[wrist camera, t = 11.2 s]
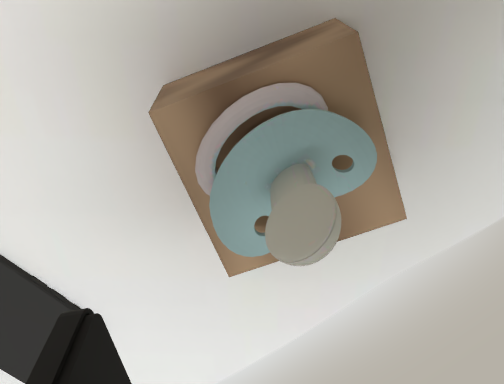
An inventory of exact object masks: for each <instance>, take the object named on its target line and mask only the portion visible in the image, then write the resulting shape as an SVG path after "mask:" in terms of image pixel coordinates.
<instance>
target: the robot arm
mask: <svg viewBox="0 0 504 384" xmlns="http://www.w3.org/2000/svg"><path fill="white" fill-rule="evenodd" d="M26 384H131V382H130V379H129V377H128V375H127V373H126V370H125V368H124V366H123V364H122V361H121V359H120V357H119V355H118V352H117V350H116V348H115V346H114V343H113V341H112V339H111V336H110V334H109V332H108V330H107V327H106V325H105V323H104V321H103V318H102V317H101V315H100V314H98V313H96V314H94V313H93V311H92V310H91V309H89V308H85V309H79V310H73V311H67V312H63V313H61V314H60V316H59V317H58V319H57V321H56V323H55V325H54V327H53V329H52V331H51V333H50V335H49V337H48V339H47V341H46V343H45V345H44V347H43V349H42V351H41V353H40V355H39V358H38V360H37V362H36V364H35V366H34V368H33V370H32V372H31V374H30V376H29V378H28V380H27V382H26Z"/></svg>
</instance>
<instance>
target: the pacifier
mask: <svg viewBox="0 0 504 384" xmlns="http://www.w3.org/2000/svg"><path fill="white" fill-rule="evenodd" d="M277 106H293V107H297V108H301V109H302V110H294V111H290V112H287V113H284V114H280V115H277V116H275V117H273V118H271V119H269V120H267V121H265V122H263V123H262V124H260V125H258V126H257V127H255V128H254V129H253V130H251V131H250V132H249V133H248V134H246V135H245V136H244V137H243V138H242V139H241V140H240V141H239V142H238V143H237V144H236V145H235V146H234V147H233V148H232V150H231V151H230V152H229V154H228V155H227V156H226V158H225V159H224V161H223V162H222V164H221V166H220V168H219V170H218V172H217V169H216V159H217V157H218V154H219V152H220V149H221V147H222V146H223V144H224V143H225V141H226V140H227V138H228V137H229V136H230V135H231V134H232V133H233V132H234V130H235V129H236V128H237V127H238V126H239V125H241V124H242V123H243V122H245V121H246V120H248V119H249V118H250V117H252V116H254V115H256V114H258V113H260V112H262V111H264V110H267V109H270V108H274V107H277ZM338 155H347V156H349V157H351V158H352V160H353V163H352V165H351V167H349V168H348V169H345V170H339V169H336V168H334V167H333V166H332V160H333V159H334V158H335V157H336V156H338ZM376 163H377V152H376V148H375V145H374V143H373V142H372V140H371V138H370V137H369V135H368V134H367V133H366V132H365V131H364V130H363V129H362V128H361V127H360V126H358V125H357V124H356V123H354V122H353V121H351V120H349V119H347V118H346V117H343V116H341V115H338V114H336V113H334V112H330V111H328V107H327V105H326V103H325V101H324V99H323V98H322V96H321V95H320V94H319V93H318V92H316V91H315V90H314V89H313V88H311V87H309V86H306V85H302V84H299V83H277V84H273V85H270V86H266V87H262V88H259V89H257V90H255V91H253V92H251V93H249V94H247V95H245V96H243V97H242V98H240V99H239V100H238V101H236V102H235V103H233V104H232V105H231V106H229V107H228V108H227V109H226V110H225V111H224V112H223V113H222V114H221V115H220V116H219V117H218V118H217V119H216V120H215V121H214V122H213V123H212V125H211V126H210V128H209V129H208V131H207V133H206V134H205V136H204V137H203V139H202V141H201V144H200V146H199V149H198V152H197V155H196V164H195V173H196V177H197V181H198V184H199V185H200V186H201V188H202V189H203V191H204V192H205V193H206V194H208V195H209V196H210V203H209V208H210V215H211V219H212V222H213V227H214V229H215V231H216V233H217V236H218V237H219V239H220V240H221V242H222V243H223V244H224V245H225V246H226V247H227V248H228V249H229V250H231V251H233V252H234V253H236V254H239V255H242V256H246V257H255V256H262V255H265V254H267V253H271V254H272V255H273V256H274V257H275V258H276V259H278V260H279V261H281V262H284V263H286V264H289V265H293V266H305V265H310V264H313V263H315V262H318V261H319V260H321V259H323V258H324V257H325V256H326V255H327V254H328V253H329V252H330V251H331V250H332V249H333V247H334V246H335V244H336V242H337V240H338V238H339V234H340V230H341V213H340V209H339V206H338V204H337V201H336V199H335V198H334V197H337V196H341V195H344V194H346V193H348V192H351V191H353V190H354V189H356V188H357V187H359V186H361V185H362V184H363V183H364V182H365V181H366V180H367V179H368V178H369V177H370V176H371V174H372V173H373V171H374V169H375V166H376ZM261 216H269V218H268V220H267V224H266V229H265V232H264V233H260V232H258V231H256V229H255V227H254V224H255V222H256V220H257V219H258V218H259V217H261Z"/></svg>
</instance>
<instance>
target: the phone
mask: <svg viewBox="0 0 504 384" xmlns="http://www.w3.org/2000/svg"><path fill="white" fill-rule="evenodd" d="M79 309H80V308H79V307H77V306H76V305H74V304H73V303H71V302H70V301H68V300H67V299H66V298H64V297H63V296H62V295H60V294H59V293H57V292H56V291H54V290H52V289H51V288H49V287H48V286H47V285H46V284H44V283H43V282H41V281H40V280H38V279H37V278H35V277H34V276H31V275H30V274H28V273H27V272H25V271H24V270H22V269H21V268H19V267H18V266H17V265H15V264H14V263H12V262H11V261H9V260H8V259H6V258H5V257H3V256H2V255H0V369H1V370H3V371H5V372H6V373H8V374H10V375H11V376H13V377H15V378H16V379H18V380H20V381H21V382H23V383H25V384H26V382H27V380H28V378H29V376H30V374H31V372H32V370H33V368H34V366H35V364H36V362H37V360H38V358H39V355H40V353H41V351H42V349H43V347H44V345H45V343H46V341H47V339H48V337H49V335H50V333H51V331H52V329H53V327H54V325H55V323H56V321H57V319H58V317H59V316H60V314H61V313H63V312H67V311H73V310H79Z"/></svg>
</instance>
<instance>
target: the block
mask: <svg viewBox="0 0 504 384" xmlns="http://www.w3.org/2000/svg"><path fill="white" fill-rule="evenodd" d="M277 83H299V84H302V85H306V86H309V87H311V88H313V89H314V90H315V91H316V92H318V93H319V94H320V95H321V96H322V98H323V99H324V101H325V103H326V105H327V107H328V111H330V112H334V113H336V114H338V115H341V116H343V117H346V118H347V119H349V120H351V121H353V122H354V123H356V124H357V125H358V126H360V127H361V128H362V129H363V130H364V131H365V132H366V133H367V134H368V135H369V137H370V138H371V140H372V142H373V143H374V145H375V148H376V152H377V163H376V166H375V169H374V171H373V173H372V174H371V176H370V177H369V178H368V179H367V180H366V181H365V182H364V183H363V184H362V185H361V186H359V187H357V188H356V189H354V190H353V191H351V192H348V193H346V194H344V195H341V196H337V197H334V198H335V199H336V201H337V204H338V206H339V209H340V213H341V230H340V234H339V238H338V240H337V242H338V241H341V240H344V239H347V238H350V237H353V236H356V235H359V234H362V233H365V232H368V231H371V230H374V229H377V228H380V227H383V226H386V225H389V224H392V223H395V222H398V221H401V220H404V219H407V217H406V214H405V210H404V206H403V202H402V198H401V194H400V191H399V187H398V183H397V179H396V175H395V172H394V168H393V164H392V160H391V156H390V152H389V149H388V145H387V141H386V137H385V133H384V130H383V126H382V122H381V118H380V114H379V110H378V107H377V103H376V99H375V95H374V91H373V88H372V84H371V80H370V76H369V72H368V68H367V65H366V61H365V57H364V53H363V49H362V46H361V42H360V38H359V34H358V32H357V31H356V30H354V29H352V28H351V27H349V26H347V25H346V24H344V23H342V22H341V21H339V20H337V19H336V18H334V19H332V20H329V21H326V22H324V23H321V24H319V25H316V26H314V27H311V28H309V29H306V30H304V31H301V32H298V33H296V34H293V35H291V36H288V37H286V38H283V39H281V40H278V41H275V42H273V43H270V44H268V45H265V46H263V47H260V48H258V49H255V50H253V51H250V52H247V53H245V54H242V55H240V56H237V57H235V58H232V59H230V60H227V61H225V62H222V63H219V64H217V65H214V66H212V67H209V68H207V69H204V70H202V71H199V72H196V73H194V74H191V75H189V76H186V77H184V78H181V79H179V80H176V81H174V82H171V83H168V84H166V85H163V87H162V89H161V91H160V92H159V94H158V96H157V98H156V100H155V102H154V103H153V105H152V107H151V109H150V111H149V115H150V117H151V119H152V121H153V123H154V125H155V127H156V129H157V131H158V133H159V135H160V137H161V139H162V141H163V143H164V145H165V148H166V150H167V152H168V154H169V156H170V158H171V160H172V162H173V164H174V166H175V168H176V170H177V172H178V174H179V176H180V178H181V180H182V182H183V184H184V186H185V188H186V190H187V192H188V194H189V196H190V198H191V200H192V202H193V205H194V207H195V209H196V211H197V213H198V215H199V217H200V219H201V221H202V223H203V225H204V227H205V229H206V231H207V233H208V235H209V237H210V239H211V241H212V243H213V245H214V247H215V249H216V251H217V253H218V255H219V257H220V260H221V262H222V264H223V266H224V268H225V270H226V272H227V274H228V276H229V277H231V276H234V275H237V274H241V273H244V272H247V271H250V270H253V269H256V268H259V267H262V266H265V265H268V264H271V263H274V262H277V261H279V260H278V259H276V258H275V257H274V256H273V255H272V254H271V253H267V254H265V255H262V256H255V257H246V256H242V255H239V254H236V253H234V252H233V251H231V250H229V249H228V248H227V247H226V246H225V245H224V244H223V243H222V242H221V240H220V239H219V237H218V236H217V233H216V231H215V229H214V227H213V222H212V219H211V215H210V208H209V203H210V196H209V195H208V194H206V193H205V192H204V191H203V189H202V188H201V186H200V185H199V184H198V181H197V177H196V173H195V164H196V155H197V152H198V149H199V146H200V144H201V141H202V139H203V137H204V136H205V134H206V133H207V131H208V129H209V128H210V126H211V125H212V123H213V122H214V121H215V120H216V119H217V118H218V117H219V116H220V115H221V114H222V113H223V112H224V111H225V110H226V109H227V108H228V107H229V106H231V105H232V104H233V103H235V102H236V101H238V100H239V99H240V98H242V97H243V96H245V95H247V94H249V93H251V92H253V91H255V90H257V89H259V88H262V87H266V86H270V85H273V84H277ZM294 110H302V109H301V108H297V107H293V106H277V107H274V108H270V109H267V110H264V111H262V112H260V113H258V114H256V115H254V116H252V117H250V118H249V119H248V120H246V121H245V122H243V123H242V124H241V125H239V126H238V127H237V128H236V129H235V130H234V132H233V133H232V134H231V135H230V136H229V137H228V138H227V140H226V141H225V143H224V144H223V146H222V147H221V149H220V152H219V154H218V157H217V159H216V169H217V172H218V170H219V168H220V166H221V164H222V162H223V161H224V159H225V158H226V156H227V155H228V154H229V152H230V151H231V150H232V148H233V147H234V146H235V145H236V144H237V143H238V142H239V141H240V140H241V139H242V138H243V137H244V136H245V135H246V134H248V133H249V132H250V131H251V130H253V129H254V128H255V127H257V126H258V125H260V124H262V123H263V122H265V121H267V120H269V119H271V118H273V117H275V116H277V115H280V114H284V113H287V112H290V111H294ZM352 163H353V160H352V158H351V157H349V156H347V155H338V156H336V157H335V158H334V159H333V160H332V166H333V167H334V168H336V169H339V170H345V169H348V168H349V167H351V165H352ZM268 218H269V216H261V217H259V218H258V219H257V220H256V222H255V224H254V227H255V229H256V231H258V232H260V233H264V232H265V229H266V224H267V220H268Z"/></svg>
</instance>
